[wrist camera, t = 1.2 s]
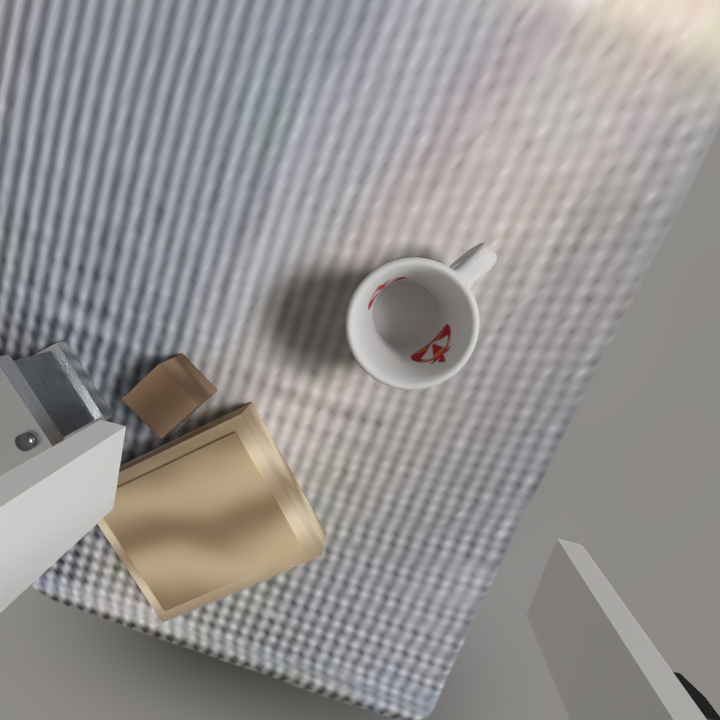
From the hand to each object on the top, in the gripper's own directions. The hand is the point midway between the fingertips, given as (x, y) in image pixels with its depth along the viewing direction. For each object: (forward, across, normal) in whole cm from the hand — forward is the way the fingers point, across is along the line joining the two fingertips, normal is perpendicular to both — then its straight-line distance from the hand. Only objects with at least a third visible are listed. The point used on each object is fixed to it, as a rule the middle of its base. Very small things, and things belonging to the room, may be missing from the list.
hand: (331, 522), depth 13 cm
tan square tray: (+22, -9, -15) cm, 29 cm away
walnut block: (+23, -13, -6) cm, 27 cm away
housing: (+23, -24, -10) cm, 34 cm away
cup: (+23, +3, +6) cm, 24 cm away
